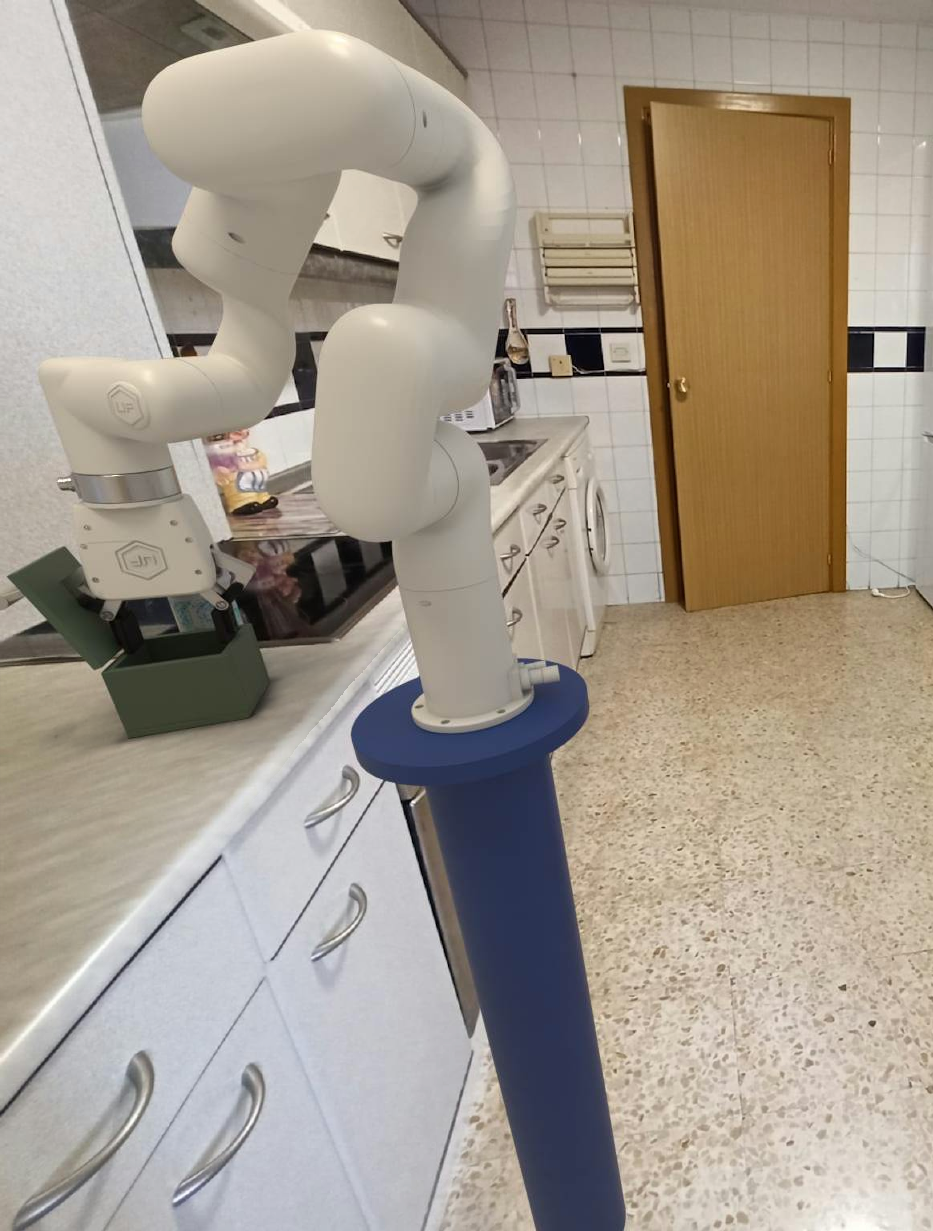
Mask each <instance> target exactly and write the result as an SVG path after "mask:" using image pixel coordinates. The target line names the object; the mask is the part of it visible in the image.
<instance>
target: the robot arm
mask: <svg viewBox="0 0 933 1231" xmlns="http://www.w3.org/2000/svg"><path fill="white" fill-rule="evenodd" d="M141 123H142V128H143V133H144V135H145V137H146V140H147V142H148V145H149V146H150V148H151V150H152V151H153V153H154V154H155V156H156V158H157V159H158V161H159V162H160V163H161V164H162V165H163V167H164V168H166V169H167V171H168V172H170V173H171V174H173V175H174V177H176V178H178V179H179V180H181V181H182V182H184V183H186V184H187V185H190V186H192V188H191V190H190V193H189V196H188V198H187V201H186V205H185V206H184V209H183V211H182V213H181V216H180V219H179V221H178V223H177V226H176V228H175V231H174V233H173V235H172V239H171V249H172V252H173V254H174V256H175V259H176V260H177V261H178V263H179V264H180V265H181V266H182V267H183V268H184V269H185V270H186V271H187V272H188V273H189V274H190V275H192V276H193V277H194V278H195V279H197V280H198V281H200V282H201V283H203V284H204V285H205V286H207V287H209V288H210V289H212V290H213V291H215V292H217V293H218V294H220V296H221V299H222V300H221V301H222V306H223V307H222V308H223V312H222V319H221V322H220V325H219V329H218V331H217V334H216V335H215V338H214V340H213V342H212V344H211V347H210V349H209V351H208V353H207V354H206V355H196V356H195V355H194V356H193V355H192V356H179V357H176V356H175V357H164V358H154V359H153V358H151V359H137V360H136V359H135V360H131V359H128V358H124V357H116V356H60V357H59V356H58V357H51V358H48V359H44V360H43V361H42V362H40V364H39V365H38V367H37V378H38V381H39V384H40V386H41V387H40V388H41V390H42V392H43V395H44V398H45V401H46V403H47V405H48V406H47V407H48V409H49V412H50V414H51V418H52V420H53V423H54V426H55V429H56V432H57V434H58V437H59V439H60V442H61V446H62V448H63V451H64V453H65V456H66V459H67V461H68V464H69V467H70V470H71V472H69V475H67V476H59V477H57V478H56V479H57V480H56V481H57V482H56V484H57V487H58V488H59V490H61V491H63V492H64V491H65V492H66V491H69V492H72V493H76V494H77V497H78V499H79V500H82V501H79V502H76V503H74V504H73V505H72V520H73V528H74V535H75V540H76V545H77V551H78V554H79V559H80V562H81V563H80V564H81V566H80V567H79V568H77V569H76V570H75V571H73V572H72V573H71V574H70V575H68V576H67V577H66V578H64V579H63V580H62V581H61V583H62V584H63V586H64V587H65V588H66V589H67V590H68V591H69V592H70V593H71V594H72V595H73V596H74V598H75V599H77V600H78V604H79V605H80V606H82V607H84V608H86V609H88V610H90V611H92V612H94V613H96V614H99V615H100V617H101V619H103V620H105V621H109V624H110V626H111V629H112V632H113V635H114V637H115V640H116V642H117V644H118V645H122V646H123V649H122V650H123V652H125V654H126V655H128V654H134V653H135V652H136V651H137V650H138V649H139V648H140V647H141V646H142V645H143V644H144V642H145V641H144V638H143V637H144V635H143V633H142V630H141V626H140V624H139V621H138V618H137V615H136V613H135V611H133V609H129V608H128V607H127V606H128V603H129V601H134V600H144V599H156V598H167V597H169V596H180V595H190V594H198V593H199V594H200V595H201V596H202V597H204V598H205V599H206V600H207V601H208V602H210V603H211V604H212V605H213V607H214V609H213V610H212V611H211V617H212V620H213V623H214V626H215V630H216V633H217V636H218V639H219V642H220V643H222V644H227V643H229V642H230V641H231V639H232V638H233V636H234V635H235V633H237V632H238V623H237V619H236V616H235V612H234V609H233V606H232V602H233V601H234V600H237V598H238V597H239V596H240V595H241V594H242V592H244V590H245V589H246V587H247V586H248V585H249V583H250V582H251V580H252V578H253V576H254V575H255V574H256V572H257V567H256V566H254V565H253V564H250V563H248V562H246V561H244V560H241V559H239V558H236V557H235V556H232V555H231V554H228V553H226V552H224V551H221V550H220V551H219V550H217V548H216V546H215V543H216V542H215V541H214V538H213V536H212V534H211V531H210V528H209V527H208V525H207V523H206V520H205V518H204V517H203V515H202V513H201V510H200V509H199V507H198V505H197V503H196V502H195V500H194V499H193V497H192V496H191V494H189V493H183V491H182V488H181V484H180V481H179V477H178V474H177V471H176V468H175V465H174V461H173V458H172V455H171V451H170V448H169V445H168V444H177V443H182V442H188V441H193V440H199V439H204V438H207V437H212V436H217V435H222V434H229V433H234V432H241V431H244V430H248V429H251V428H253V427H255V426H257V425H258V424H260V423H262V422H263V421H264V420H265V419H266V418H267V417H268V416H269V415H270V413H271V412H272V411H273V409H274V407H275V406H276V404H277V402H278V400H279V399H280V397H281V395H282V393H283V391H284V388H285V387H286V385H287V382H288V380H289V378H290V376H291V374H292V371H293V369H294V365H295V362H296V355H297V342H296V330H295V323H294V319H293V314H292V312H291V309H290V306H289V299H290V295H291V293H292V291H293V288H294V286H295V284H296V282H297V279H298V277H299V275H300V273H301V270H302V268H303V266H304V264H305V261H306V260H307V258H308V255H309V252H310V250H311V249H312V246H313V244H314V241H315V239H316V237H317V236H318V233H319V231H320V229H321V226H322V224H323V222H324V220H325V218H326V216H327V213H328V212H329V209H330V207H331V204H332V203H333V201H334V198H335V196H336V193H337V191H338V189H339V186H340V182H341V179H342V175H343V174H342V173H343V171H349V170H355V171H359V172H364V173H367V174H369V175H374V176H376V177H380V178H382V179H386V180H389V181H392V182H397V183H400V184H404V185H406V186H408V187H410V188H411V189H412V190H413V191H414V192H415V193H416V196H417V202H416V207H415V209H414V211H413V212H412V215H411V216H410V218H409V221H408V223H407V224H406V227H405V230H404V233H403V236H402V239H401V244H400V248H399V258H398V259H399V260H398V272H397V280H396V285H395V290H394V296H393V299H392V302H391V303H371V304H366V305H362V306H357V307H355V308H353V309H351V310H349V311H346V313H344V314H342V316H340V317H339V318H338V319H337V320H336V322H334V323H333V325H332V326H331V328H330V329H329V331H327V332H328V333H327V334H326V336H325V339H324V341H323V343H322V345H321V349H320V352H319V358H318V365H317V374H316V384H315V385H316V387H315V400H314V401H315V402H314V416H313V426H312V427H313V429H312V441H311V442H312V443H311V458H310V469H311V470H310V473H311V476H310V477H311V484H312V489H313V494H314V497H315V499H316V502H317V504H318V506H319V509H320V510H321V511H322V513H323V515H324V516H325V517H326V518H327V520H328V521H329V522H330V523H331V524H332V525H333V526H334V527H335V528H336V529H337V530H339V531H340V532H342V533H343V534H345V535H346V536H348V537H350V538H353V539H354V540H355V539H356V540H359V541H362V542H368V543H386V542H391V550H392V560H393V561H392V562H393V569H394V574H395V577H396V581H397V586H398V590H399V593H400V594H399V595H400V598H401V603H402V608H403V612H404V616H405V619H406V620H405V621H406V624H407V628H408V632H409V636H410V641H411V645H412V649H413V653H414V657H415V663H416V667H417V670H418V675H419V677H420V679H421V683H422V688H423V692H424V693H423V694H422V695H421V696H419V698H418V699H417V700H416V701H415V702H414V704H413V706H412V711H411V713H412V716H413V720H414V722H415V723H416V725H417V726H419V727H420V728H422V729H424V730H427V731H430V732H436V733H446V734H455V733H466V732H473V731H478V730H482V729H486V728H490V727H493V726H496V725H499V724H501V723H504V722H506V721H508V720H510V719H512V718H514V717H516V716H517V715H519V714H520V713H522V712H523V711H524V710H525V709H526V708H527V707H528V706H529V705H530V704H531V703H532V701H533V699H534V688H533V685H537V684H543V683H544V684H547V683H553V682H558V681H560V677H559V671H558V666H557V665H555V666H549V667H546V662H545V661H539V662H534V663H530V664H524V662H522V663H518V660H517V658H518V656H517V652H513V648H512V642H511V636H510V631H509V626H508V620H507V614H506V609H505V603H504V598H503V592H502V587H501V586H502V585H501V580H500V574H499V568H498V562H497V557H496V551H495V544H494V536H493V530H492V527H493V526H492V509H491V508H492V506H491V505H492V502H491V501H492V500H491V498H492V497H491V496H492V494H491V475H490V470H489V465H488V461H487V459H486V456H485V453H484V452H483V450H482V448H481V447H480V444H479V443H478V442H477V441H476V440H475V438H474V437H473V436H472V435H470V434H469V433H468V432H467V431H466V430H464V429H463V428H461V427H460V426H458V425H456V424H455V423H452V422H449V421H446V420H443V419H438V418H440V417H444V416H448V415H452V414H457V413H460V412H463V411H466V410H468V409H470V408H472V407H474V406H476V405H478V404H479V403H480V402H481V401H482V400H483V399H484V398H485V396H486V395H487V392H488V391H489V388H490V385H491V382H492V378H493V372H494V366H495V359H496V358H495V357H496V351H497V346H498V337H499V332H500V331H499V330H500V325H501V319H502V315H503V314H502V313H503V306H504V298H505V291H506V290H505V289H506V283H507V275H508V269H509V265H510V260H511V255H512V254H511V253H512V248H513V243H514V239H515V238H514V237H515V233H516V232H515V230H516V226H517V225H516V224H517V212H518V200H517V199H518V198H517V190H516V184H515V179H514V175H513V171H512V168H511V165H510V163H509V161H508V158H507V156H506V154H505V151H504V150H503V148H502V146H501V144H500V143H499V141H498V140H497V139H496V137H495V135H494V134H493V132H492V131H491V130H490V129H489V127H488V126H487V125H486V123H484V121H482V119H481V118H480V117H479V116H478V115H477V114H476V113H475V112H474V111H473V110H472V109H471V108H470V107H468V105H466V104H465V103H464V102H463V101H462V100H461V99H460V98H458V97H457V96H456V95H454V94H453V93H452V92H451V91H449V90H448V89H447V88H445V87H443V86H442V85H441V84H439V83H438V82H436V81H435V80H433V79H431V78H429V77H428V76H426V75H425V74H423V73H421V72H419V71H418V70H416V69H415V68H413V67H411V66H408V65H407V64H405V63H403V62H401V61H400V60H397V59H396V58H394V57H393V56H391V55H389V54H387V53H385V52H384V51H383V50H381V49H379V48H377V47H375V46H374V45H372V44H370V43H369V42H366V41H364V40H363V39H360V38H358V37H355V36H352V35H350V34H347V33H345V32H341V31H337V30H336V31H335V30H329V29H319V28H317V29H304V30H298V31H294V32H293V31H292V32H289V33H288V32H287V33H284V34H280V35H276V36H272V37H267V38H263V39H259V40H254V41H250V42H246V43H241V44H238V45H232V46H229V47H225V48H221V49H216V50H212V51H207V52H203V53H200V54H195V55H192V56H189V57H186V58H183V59H181V60H178V61H176V62H175V63H171V64H170V65H167V66H166V67H165V68H164V69H162V70H161V71H160V72H158V73H157V74H156V75H155V76H154V78H153V79H152V80H151V82H150V83H149V84H148V86H147V89H146V90H145V93H144V95H143V100H142V104H141ZM214 542H215V543H214ZM223 569H225V570H228V571H229V573H232V574H234V576H235V577H234V579H233V581H232V582H231V583H230V586H229V587H228V588H226V587H225V586H224V585H223V584H222V583H221V582H219V581H218V580H217V579H219V578H220V577H222V575H223ZM85 580H87V583H88V586H89V588H90V590H89V589H88V588H87V587H85V586H84V582H85Z"/></svg>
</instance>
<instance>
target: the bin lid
mask: <svg viewBox="0 0 933 1231" xmlns="http://www.w3.org/2000/svg"><path fill="white" fill-rule="evenodd" d="M81 565H82V563H80V561H79V560H78V559H77V558H76V557H75V555H73V553H71V551H70V550H69V549H68V548H67V547H66V546H65V545H64V546H60V547H57V548H56V549H53V550H52V551H49V552H48V553H47V554H44V555H42V556H41V557H39V558H37V559H35V560H34V561H33V560H32V562H30V563H28V564H26V565H24V566H22V567H20V568H19V569H17V570H14V571H13V572H11V573H10V574H8V575H6V578H7V579H8V580H9V581H10V582H11V583H10V584H7V585H6V586H4V587H2V588H1V589H0V611H4V610H6V609H7V608H9V607H11V606H13V605H14V604H16V603H17V602H19V601H21V600H23V599H24V598H26V599H27V600H28V601H29V602H30V603H31V605H33V607H34V608H35V609H36V610H37V611H38V613H40V614H41V615H42V617H44V619H45V620H46V621H47V622H48V623H49V624H50V625H51V626H52V627H53V628H54V629H55V630H56V632H57V633H59V634H60V636H62V638H63V639H64V640H65V641H66V642H67V643H68V644H69V646H70V647H71V648H72V649H74V651H75V652H77V654H78V655H79V656H80V657H81V659H82V660H84V662H86V663H87V665H89V667H90V668H91V669H92V670H93V671H97V670H100V669H103V667H105V666H106V665H107V664H108V663H109V662H110V661H111V660H112V659H113V658H114V657H115V656H116V655H118V654H119V653H120V652H121V651H122V650H124V649H123V646H122V645H118V644H117V642H116V640H115V637H114V635H113V632H112V629H111V626H110V624H109V621H105V620H103V619H101V617H100V615H99V614H96V613H94V612H92V611H90V610H88V609H86V608H84V607H82V606H80V605H79V604H78V600H77V599H75V598H74V596H73V595H72V594H71V593H70V592H69V591H68V590H67V589H66V588H65V587H64V586H63V584H62V583H61V581H62V580H63V579H64V578H66V577H67V576H68V575H70V574H71V573H72V572H73V571H75V570H76V569H77V568H79V567H80V566H81ZM84 586H85V587H87V588H88V589H89V590H90V588H89V586H88V583H87V580H85V582H84Z"/></svg>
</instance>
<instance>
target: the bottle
mask: <svg viewBox="0 0 933 1231" xmlns="http://www.w3.org/2000/svg"><path fill="white" fill-rule="evenodd" d="M214 543H215V546H216V548H217V550H219V551H221V550H220V547H219V545H218V544H217V542H215V541H214ZM231 579H232V575H231V574H230V571H228V570H225V569H223V575H222V577H220V578H219V579H217V580H218V581H219V582H221V583H222V584H223V585H224V586H225V587H226V588H228V587H229V586H230V585H231ZM166 598H167V600H168V603H169V604H168V605H169V606H170V608H171V611H172V614H173V617H174V620H175V622H176V625H177V628H178V630H179V632H187V631H195V630H203V629H210V628H215V626H214V623H213V620H212V617H211V611H212V610H213V609H214V607H213V605H212V604H211V603H210V602H208V601H207V600H206V599H205V598H204V597H202V596H201V595H200V594H199V593H198V594H190V595H180V596H169V597H166ZM232 606H233V609H234V612H235V616H236V619H237V623H238V625H241V624H244V621H243V618H242V616H241V613H240V609H239V606H238V604H237V599H235V600H234V601H233V602H232Z"/></svg>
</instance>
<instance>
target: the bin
mask: <svg viewBox="0 0 933 1231" xmlns="http://www.w3.org/2000/svg"><path fill="white" fill-rule="evenodd" d="M255 633H256V632H255V630H254V627H253V623H251V622H250V623H243V624H241V625H238V632H237V633H235V635H234V636H233V638H232V639H231V641H230V642H229V643H227V644H222V643H220V642H219V639H218V636H217V633H216V630H215V628H210V629H203V630H195V631H187V632H180V631H179V632H171V633H164V634H157V635H156V634H155V635H150V636H148V635H147V636H143V638H144V641H145V642H144V644H143V645H142V646H141V647H140V648H139V649H138V650H137V651H136V652H135V653H134V654H128V655H126V654H125V652H124V651H122V653H120V654H119V655H118V656H117V657H116V658H115V659H114V660H113V661H112V662H111V663H110V664H109V665H108V666H106V667H105V668H104V670H102V671H101V672H100V675H101V677H102V680H103V682H104V684H105V687H106V689H107V691H108V694H109V696H110V699H111V701H112V703H113V705H114V707H115V710H116V712H117V715H118V716H119V719H120V721H121V725H122V727H123V728H124V731H125V733H126V736H127V738H128V739H133V738H139V737H146V736H150V735H156V734H162V733H169V732H175V731H180V730H185V729H191V728H198V727H203V726H210V725H215V724H221V723H226V722H233V721H240V720H245V719H250V717H251V715H252V714H253V713H254V710H255V709H256V707H257V705H258V704H259V702H260V700H261V698H262V697H263V695H264V693H265V692H266V690H267V688H268V686H269V684H270V683H271V679H270V678H271V677H270V676H269V672H268V668H267V667H266V664H265V661H264V657H263V655H262V650H261V648H260V645H259V643H258V639H257V636H256V634H255Z"/></svg>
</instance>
